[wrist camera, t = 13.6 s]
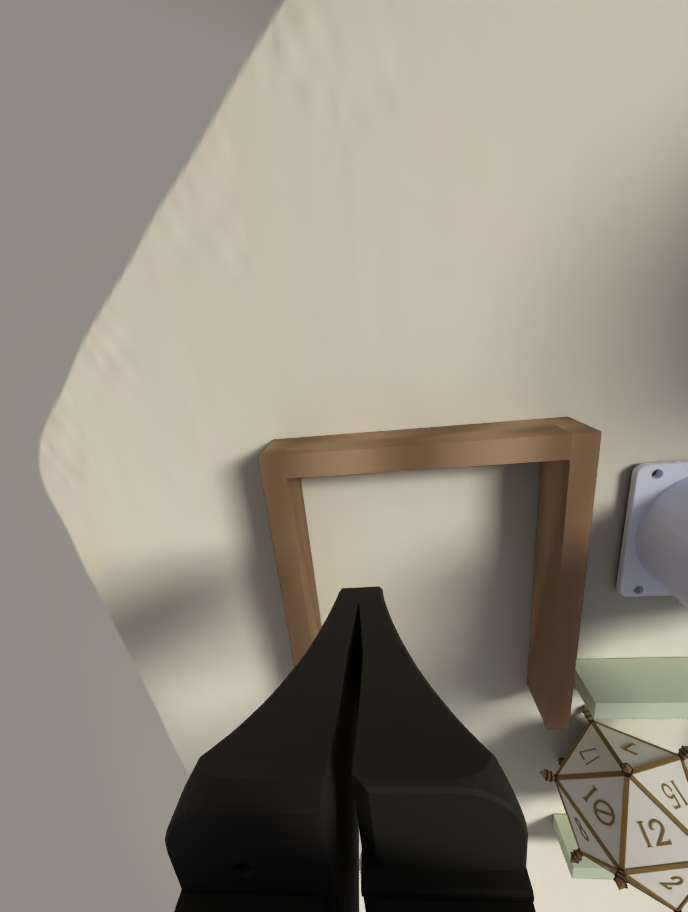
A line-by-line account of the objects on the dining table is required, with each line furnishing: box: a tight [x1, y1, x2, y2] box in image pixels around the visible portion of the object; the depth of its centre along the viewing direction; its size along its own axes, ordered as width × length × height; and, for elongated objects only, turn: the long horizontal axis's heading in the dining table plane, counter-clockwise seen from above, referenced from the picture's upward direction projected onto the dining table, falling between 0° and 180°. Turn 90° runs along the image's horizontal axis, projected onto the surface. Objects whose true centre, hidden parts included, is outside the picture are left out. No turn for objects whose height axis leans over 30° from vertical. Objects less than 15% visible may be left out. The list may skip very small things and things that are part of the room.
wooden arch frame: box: [258, 417, 601, 729], centre depth 22 cm, size 15×18×3 cm
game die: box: [540, 705, 688, 912], centre depth 22 cm, size 9×8×10 cm
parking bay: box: [553, 657, 688, 880], centre depth 25 cm, size 12×16×3 cm
